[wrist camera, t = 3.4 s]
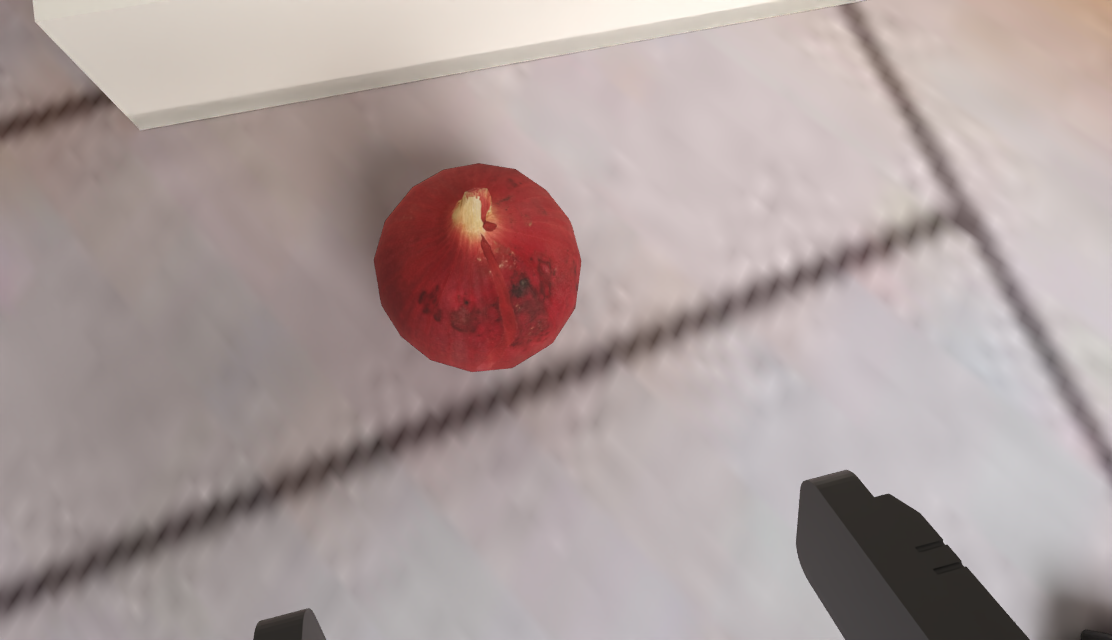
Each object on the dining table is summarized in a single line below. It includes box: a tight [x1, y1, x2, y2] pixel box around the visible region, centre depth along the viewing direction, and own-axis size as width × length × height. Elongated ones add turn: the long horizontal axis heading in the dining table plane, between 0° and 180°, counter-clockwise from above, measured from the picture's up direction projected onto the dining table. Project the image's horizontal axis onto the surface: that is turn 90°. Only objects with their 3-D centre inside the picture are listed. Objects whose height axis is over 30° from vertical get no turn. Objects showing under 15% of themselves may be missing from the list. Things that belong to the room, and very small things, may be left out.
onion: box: [374, 163, 581, 372], centre depth 21 cm, size 6×6×8 cm
